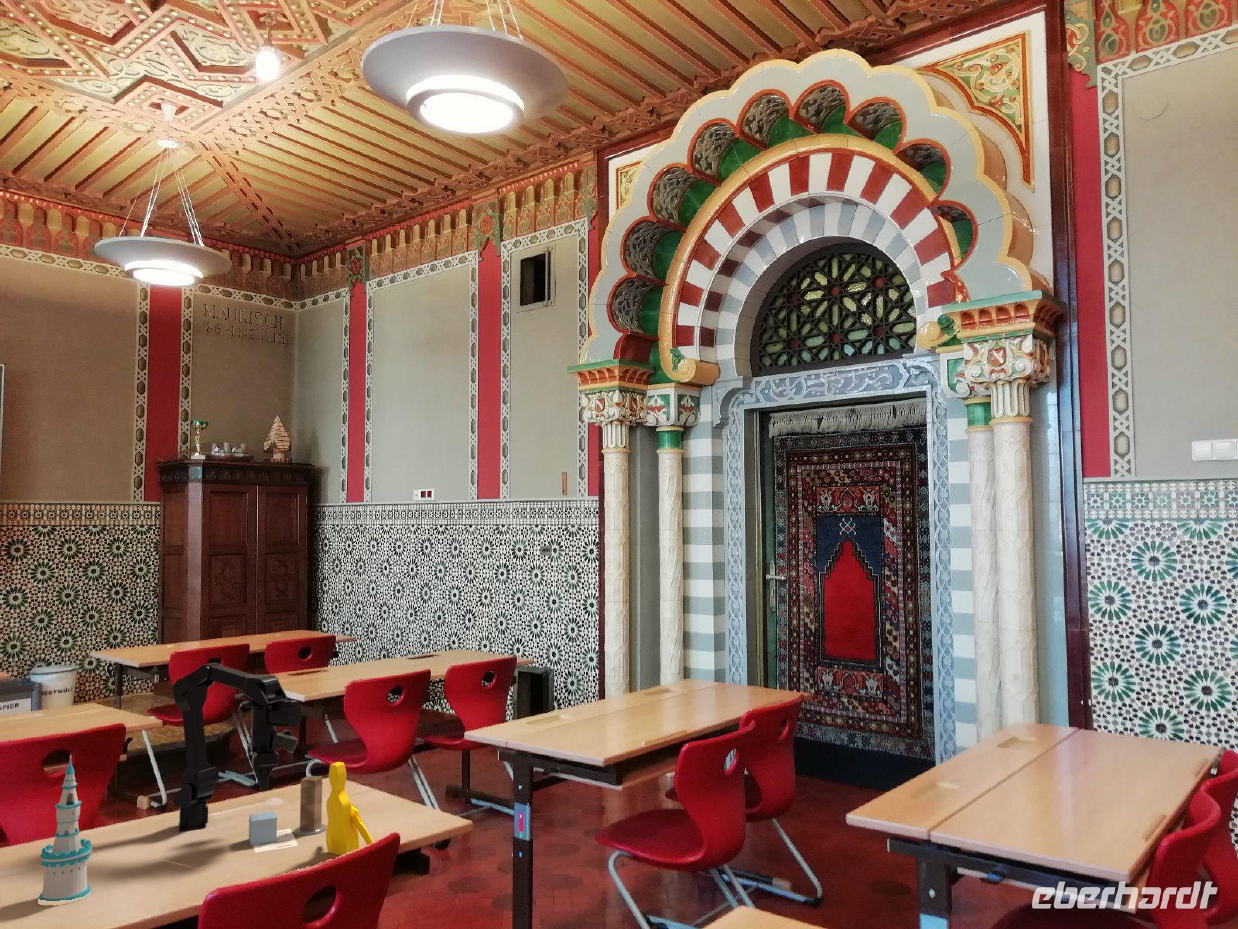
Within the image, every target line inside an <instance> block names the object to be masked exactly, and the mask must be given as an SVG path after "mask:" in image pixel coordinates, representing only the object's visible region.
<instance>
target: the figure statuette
mask: <svg viewBox="0 0 1238 929" xmlns="http://www.w3.org/2000/svg"><path fill="white" fill-rule="evenodd" d="M347 779H348V778H347V770H346V765H345V763H344V762H342V761H337V762H334V763H331V764H330V765H329V769H328V781H329V784H330V787H331V792H330V794H329V796H328V797H327V798H328V799H327V800H326V804H325V805H326V814H327V825H326V827H327V829H326V831H325V842H326V843H325V844H326V849H327V852H328V853H330V854H333V855H336V856H339V855H343V854H346V853H347V852H351V851H353V850H355V849H359V850H360V837H359V834H360V836H361V838H362V839H363V840H364V842H365V843H366V846H367V845H369V844H371V843H373V842H374V840H373V838H372V836H371V834H370V833H369V831H368V829H367V828H366V826H365V823H364V822H363V820H362V818H361V815H360V810H359V808H358V807H356V806H355V805H354V804H353V803H352V802H351V800H350V798H349V796H348V793H347V791H346V782H347ZM374 843H375V842H374Z"/></svg>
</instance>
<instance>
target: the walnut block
mask: <svg viewBox="0 0 1238 929" xmlns="http://www.w3.org/2000/svg"><path fill="white" fill-rule="evenodd" d="M299 802H300V803H299V804H300V806H299V807H300V808H299V810H300V812H299V827H300V831H316V830H317V829H319V828H320V827H321V824H322V823H323V822H322V819H323V814H322V812H323V810H322V809H323V776H321V775H307V776H306V777H303V778H301V779H300V801H299Z"/></svg>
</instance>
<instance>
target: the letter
mask: <svg viewBox="0 0 1238 929" xmlns="http://www.w3.org/2000/svg"><path fill="white" fill-rule="evenodd" d="M293 833H294V832H293V831H292V828H286V829H279V830H278V829H277V836H276V842H274V843H267V844H261V845H254V846H252V847H253V849H254V853H257V854H258V853H261V852H268V851H276V850H281V849H287V848H294V847H299V844H298V842H297V839H296V838H295V835H294V834H293Z"/></svg>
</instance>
